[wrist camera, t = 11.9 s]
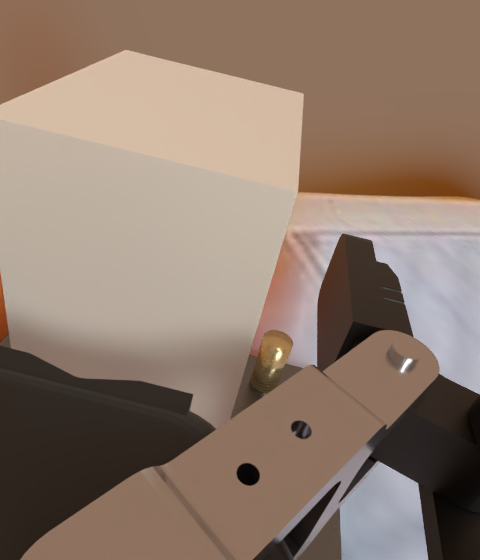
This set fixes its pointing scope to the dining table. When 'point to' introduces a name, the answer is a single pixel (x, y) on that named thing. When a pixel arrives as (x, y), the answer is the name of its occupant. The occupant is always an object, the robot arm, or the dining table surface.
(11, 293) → the cream block
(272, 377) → the chassis plate
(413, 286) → the dining table surface
